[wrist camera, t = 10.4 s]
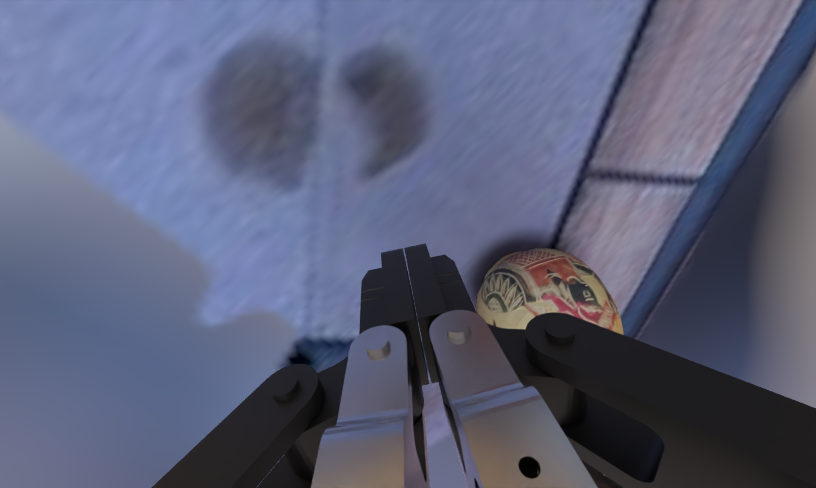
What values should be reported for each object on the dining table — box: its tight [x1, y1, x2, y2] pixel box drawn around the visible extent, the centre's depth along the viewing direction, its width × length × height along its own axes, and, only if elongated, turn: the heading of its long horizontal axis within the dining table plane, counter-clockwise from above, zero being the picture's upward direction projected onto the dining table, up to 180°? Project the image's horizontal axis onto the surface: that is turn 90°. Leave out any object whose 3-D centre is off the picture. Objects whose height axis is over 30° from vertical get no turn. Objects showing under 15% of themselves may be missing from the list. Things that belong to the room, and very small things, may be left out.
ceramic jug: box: [476, 248, 624, 488], centre depth 35 cm, size 17×15×30 cm
